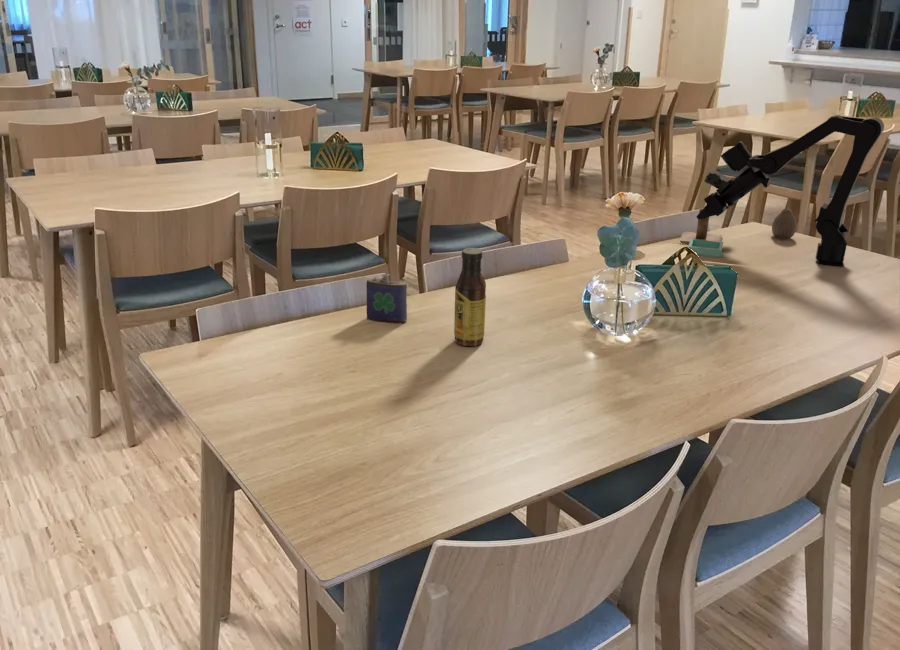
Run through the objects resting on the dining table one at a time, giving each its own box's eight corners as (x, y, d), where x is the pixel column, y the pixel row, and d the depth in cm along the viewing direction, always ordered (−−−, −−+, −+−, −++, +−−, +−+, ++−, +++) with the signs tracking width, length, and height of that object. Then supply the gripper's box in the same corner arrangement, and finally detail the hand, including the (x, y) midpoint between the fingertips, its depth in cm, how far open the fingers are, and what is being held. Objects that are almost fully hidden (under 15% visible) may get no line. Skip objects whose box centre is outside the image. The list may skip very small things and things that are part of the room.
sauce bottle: (452, 336, 169) (454, 245, 162) (482, 335, 170) (485, 244, 163) (455, 348, 163) (457, 254, 156) (486, 348, 164) (489, 254, 156)
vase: (796, 241, 242) (801, 213, 239) (772, 240, 243) (777, 211, 240) (792, 235, 248) (797, 207, 245) (768, 234, 249) (773, 206, 246)
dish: (722, 250, 232) (723, 241, 231) (720, 258, 224) (721, 250, 223) (689, 246, 235) (690, 238, 234) (687, 255, 227) (688, 246, 226)
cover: (720, 237, 243) (725, 206, 240) (718, 247, 234) (723, 215, 230) (683, 234, 247) (687, 203, 243) (679, 243, 237) (683, 211, 234)
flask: (408, 320, 178) (408, 274, 174) (404, 325, 175) (403, 278, 171) (369, 315, 180) (367, 270, 176) (364, 320, 177) (362, 274, 173)
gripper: (733, 157, 237) (691, 189, 246) (716, 167, 222) (672, 201, 232) (757, 187, 236) (714, 218, 245) (741, 199, 221) (696, 232, 231)
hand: (699, 216), depth 238 cm, fingers closed on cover, 3 cm apart
